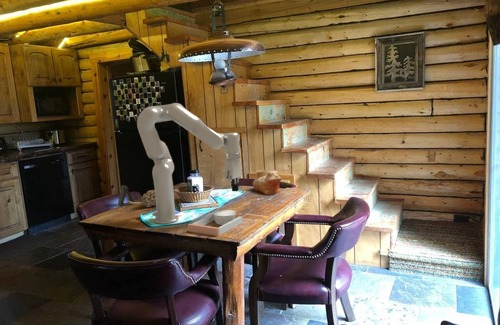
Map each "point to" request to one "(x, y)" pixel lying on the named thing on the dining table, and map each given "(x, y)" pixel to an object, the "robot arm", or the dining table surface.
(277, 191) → the bread loaf
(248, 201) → the dining table surface
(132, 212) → the dining table surface
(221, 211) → the ramekin
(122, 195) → the phone stand
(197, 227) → the bay
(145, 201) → the knobbly ball on stick
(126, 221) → the dining table surface
